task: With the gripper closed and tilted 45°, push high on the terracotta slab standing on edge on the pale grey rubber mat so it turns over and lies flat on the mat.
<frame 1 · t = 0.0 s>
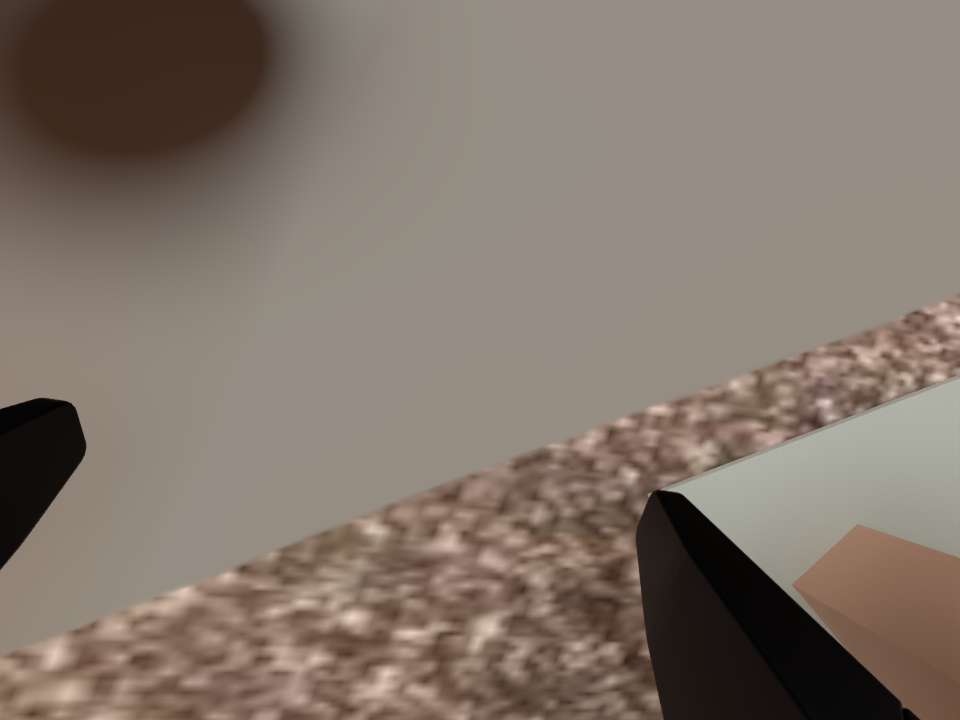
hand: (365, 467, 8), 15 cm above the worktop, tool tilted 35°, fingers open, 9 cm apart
rubber mat: (932, 566, 23), on the worktop
terracotta slab: (901, 643, 22), resting on rubber mat
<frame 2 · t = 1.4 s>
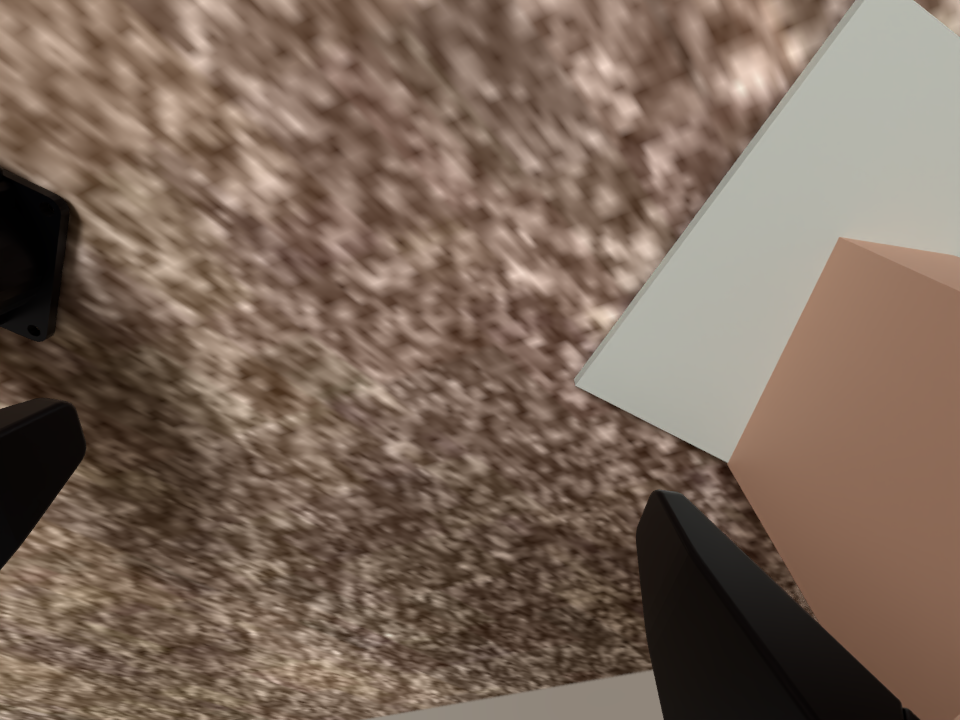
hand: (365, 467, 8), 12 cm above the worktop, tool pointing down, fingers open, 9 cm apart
rubber mat: (922, 356, 19), on the worktop
terracotta slab: (826, 372, 19), resting on rubber mat
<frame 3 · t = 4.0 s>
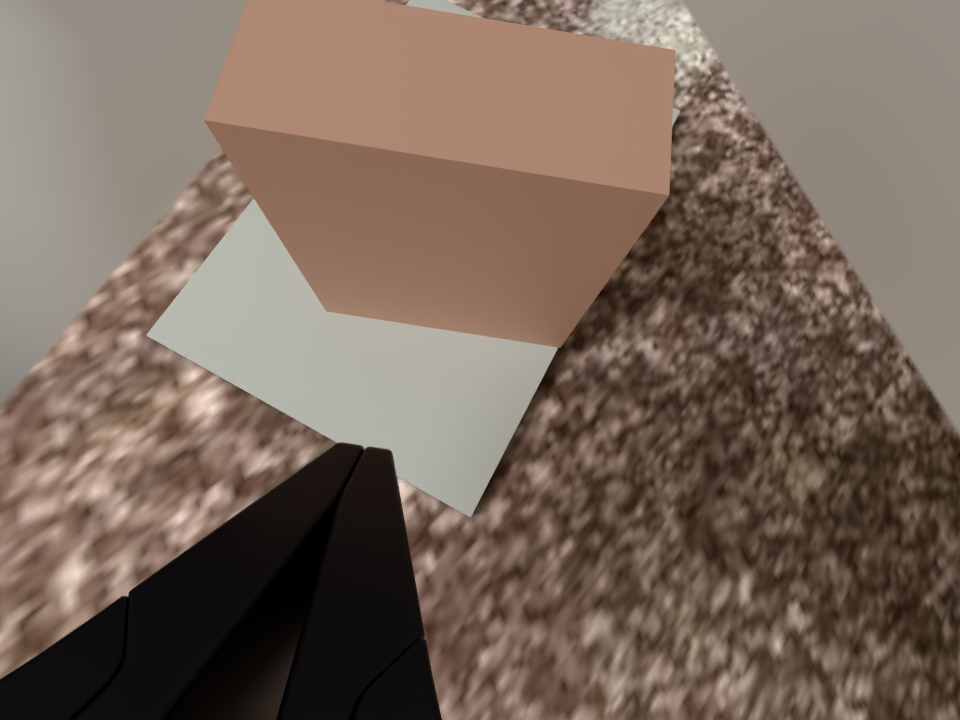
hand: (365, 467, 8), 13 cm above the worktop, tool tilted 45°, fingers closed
rubber mat: (441, 217, 23), on the worktop
terracotta slab: (451, 286, 22), resting on rubber mat
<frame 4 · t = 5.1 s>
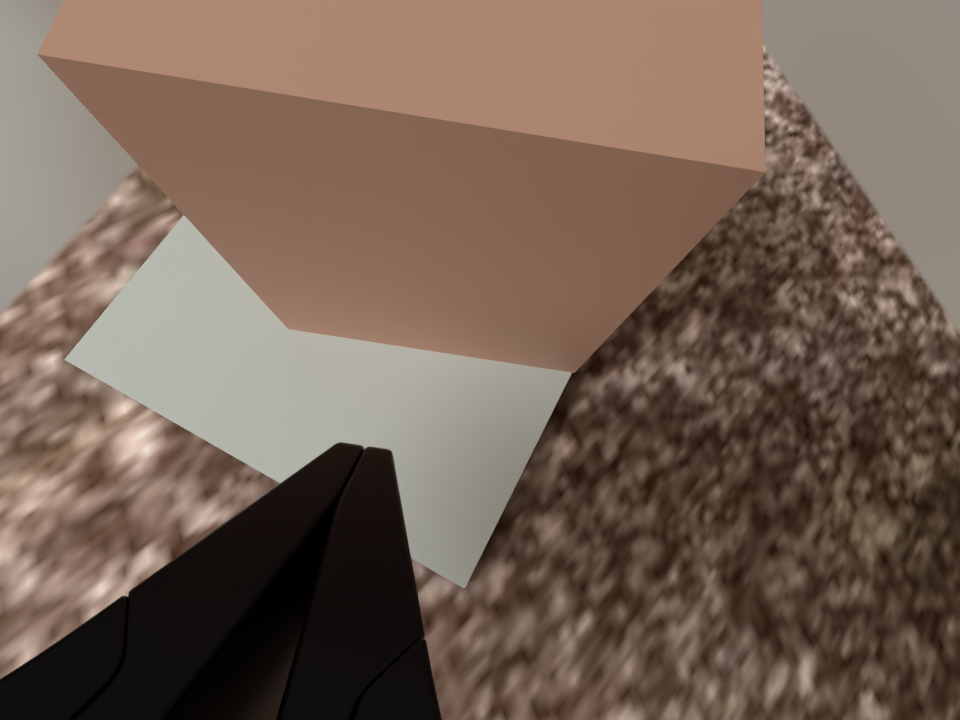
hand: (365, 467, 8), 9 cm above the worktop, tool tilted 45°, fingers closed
rubber mat: (429, 214, 19), on the worktop
terracotta slab: (441, 298, 18), resting on rubber mat
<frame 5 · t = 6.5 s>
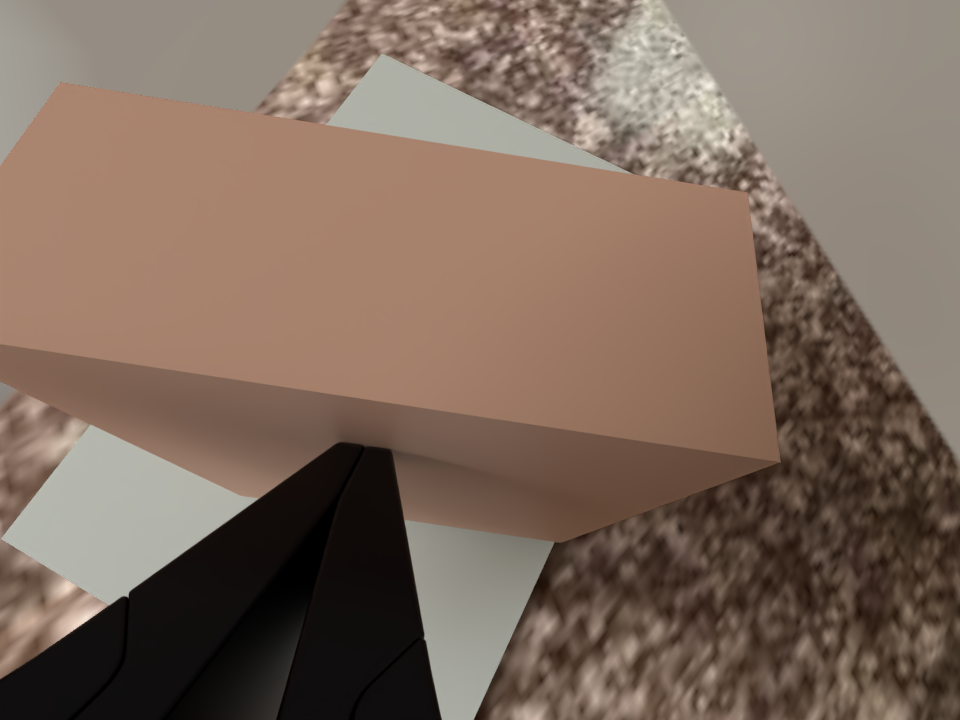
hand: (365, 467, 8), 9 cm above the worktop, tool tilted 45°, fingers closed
rubber mat: (403, 355, 18), on the worktop
terracotta slab: (413, 456, 16), point 1 cm above the worktop, tilted 8°, touching rubber mat
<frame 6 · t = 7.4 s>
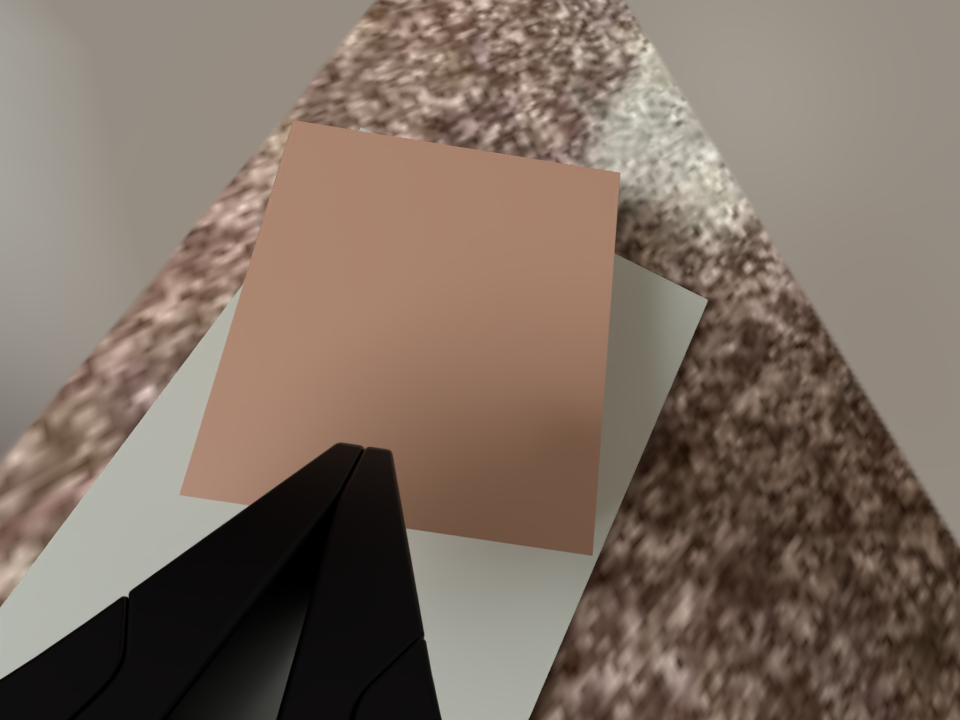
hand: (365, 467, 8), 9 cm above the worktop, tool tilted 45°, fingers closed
rubber mat: (380, 468, 17), on the worktop
terracotta slab: (395, 523, 14), point 2 cm above the worktop, tilted 90°, touching rubber mat
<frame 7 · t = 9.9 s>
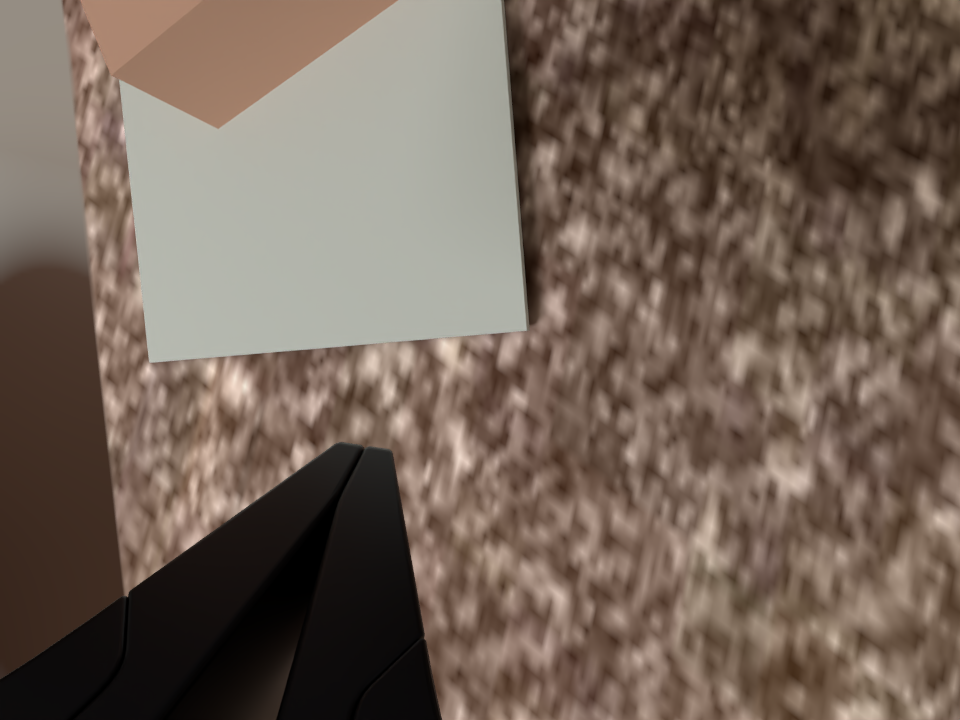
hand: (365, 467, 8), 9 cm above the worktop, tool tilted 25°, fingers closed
rubber mat: (295, 37, 18), on the worktop
terracotta slab: (290, 14, 15), point 2 cm above the worktop, tilted 90°, touching rubber mat
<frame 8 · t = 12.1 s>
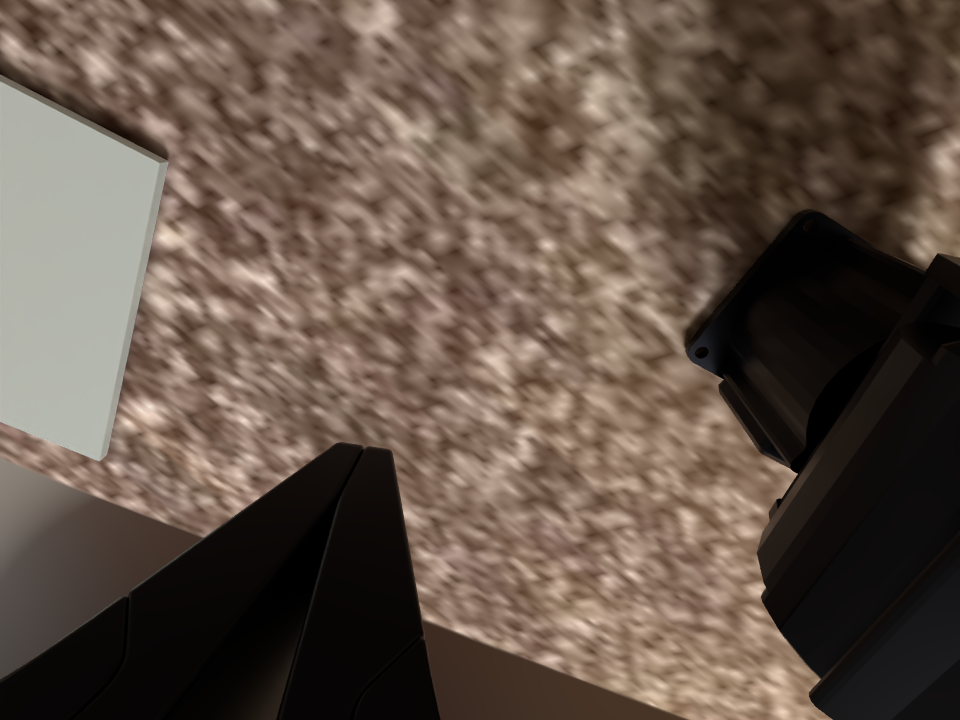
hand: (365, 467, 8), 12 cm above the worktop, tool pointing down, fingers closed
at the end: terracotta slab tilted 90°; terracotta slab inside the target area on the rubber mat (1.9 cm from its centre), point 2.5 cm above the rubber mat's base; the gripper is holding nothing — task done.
